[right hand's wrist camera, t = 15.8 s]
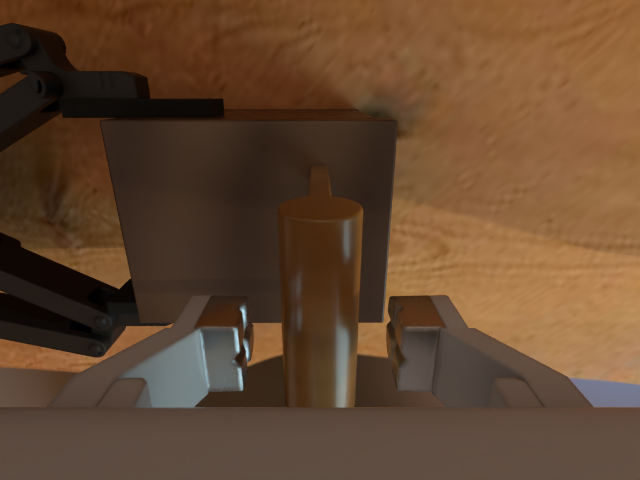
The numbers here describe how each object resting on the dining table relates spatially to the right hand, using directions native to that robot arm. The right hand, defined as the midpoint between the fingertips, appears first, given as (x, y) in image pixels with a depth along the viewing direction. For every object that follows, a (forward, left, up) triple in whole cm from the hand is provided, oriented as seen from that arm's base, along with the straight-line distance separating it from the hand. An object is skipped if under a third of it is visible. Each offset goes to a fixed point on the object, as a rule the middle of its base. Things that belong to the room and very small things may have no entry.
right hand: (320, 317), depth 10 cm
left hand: (+3, +4, -10) cm, 11 cm away
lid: (+1, +2, -8) cm, 8 cm away
